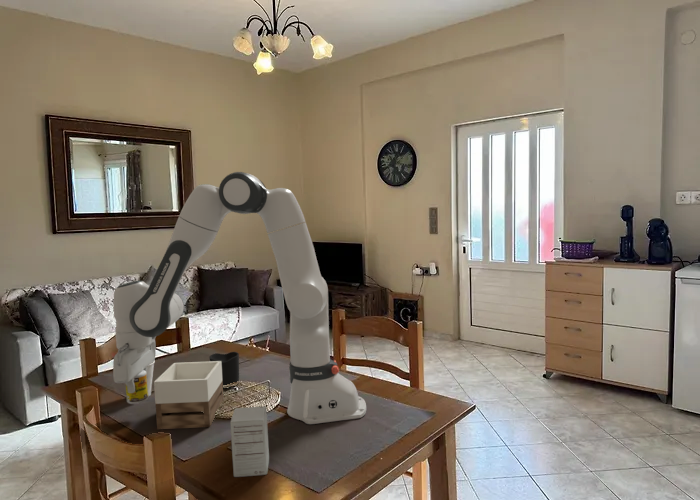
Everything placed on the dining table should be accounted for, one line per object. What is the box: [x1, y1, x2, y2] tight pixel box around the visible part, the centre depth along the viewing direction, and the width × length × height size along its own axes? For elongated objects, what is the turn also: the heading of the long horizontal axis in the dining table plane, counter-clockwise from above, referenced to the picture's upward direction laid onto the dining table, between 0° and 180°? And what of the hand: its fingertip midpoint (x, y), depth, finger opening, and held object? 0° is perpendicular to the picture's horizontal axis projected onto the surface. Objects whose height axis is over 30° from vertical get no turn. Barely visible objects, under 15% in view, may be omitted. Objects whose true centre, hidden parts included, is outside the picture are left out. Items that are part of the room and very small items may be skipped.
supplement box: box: [230, 405, 270, 478], centre depth 109 cm, size 7×7×13 cm
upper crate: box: [153, 360, 223, 405], centre depth 138 cm, size 14×16×6 cm
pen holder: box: [208, 351, 240, 385], centre depth 162 cm, size 9×9×10 cm
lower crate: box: [155, 381, 225, 430], centre depth 138 cm, size 14×16×7 cm
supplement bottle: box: [125, 366, 149, 405], centre depth 137 cm, size 6×6×10 cm
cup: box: [147, 360, 156, 398], centre depth 154 cm, size 10×10×11 cm
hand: (137, 387), depth 138 cm, fingers closed on supplement bottle, 6 cm apart
